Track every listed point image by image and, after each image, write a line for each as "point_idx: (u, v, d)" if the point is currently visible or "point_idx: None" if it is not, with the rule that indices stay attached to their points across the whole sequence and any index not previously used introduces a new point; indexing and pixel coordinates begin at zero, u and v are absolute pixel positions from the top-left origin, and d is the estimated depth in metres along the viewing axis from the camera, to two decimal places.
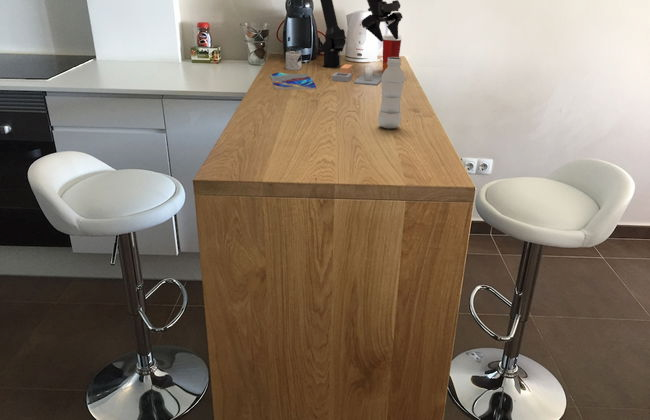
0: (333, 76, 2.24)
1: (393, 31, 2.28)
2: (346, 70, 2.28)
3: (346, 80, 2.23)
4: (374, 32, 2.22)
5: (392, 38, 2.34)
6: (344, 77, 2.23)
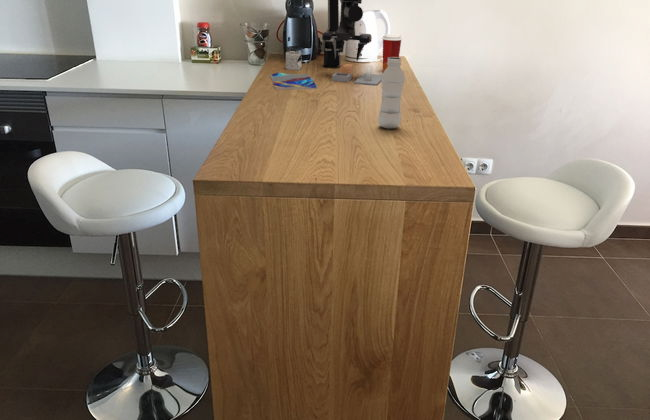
0: (333, 76, 2.24)
1: None
2: (346, 70, 2.28)
3: (346, 80, 2.23)
4: None
5: (392, 38, 2.34)
6: (344, 77, 2.23)
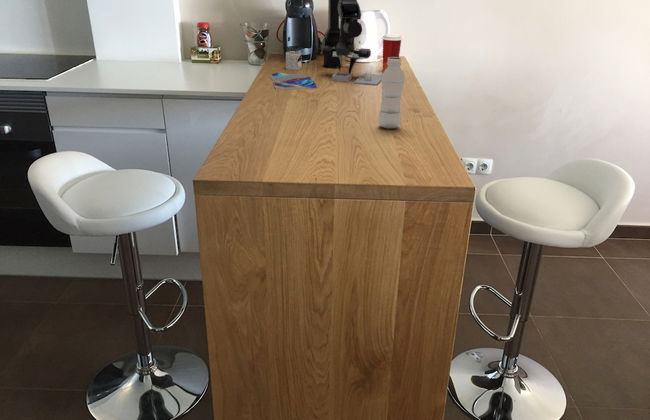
0: (333, 76, 2.24)
1: None
2: (346, 70, 2.28)
3: (346, 80, 2.23)
4: None
5: (392, 38, 2.34)
6: (344, 77, 2.23)
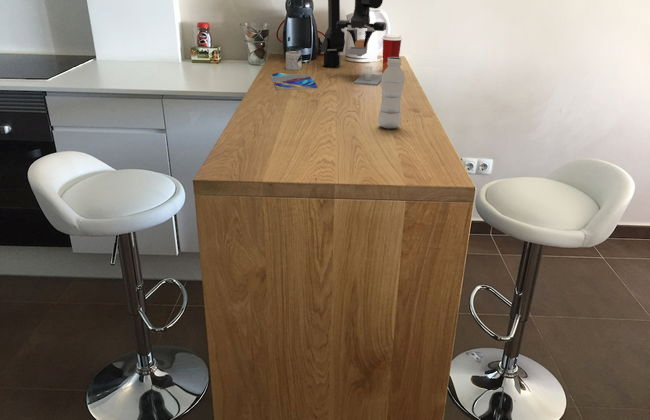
0: (347, 50, 2.19)
1: None
2: (361, 44, 2.23)
3: (361, 53, 2.18)
4: None
5: (392, 38, 2.34)
6: (359, 50, 2.18)
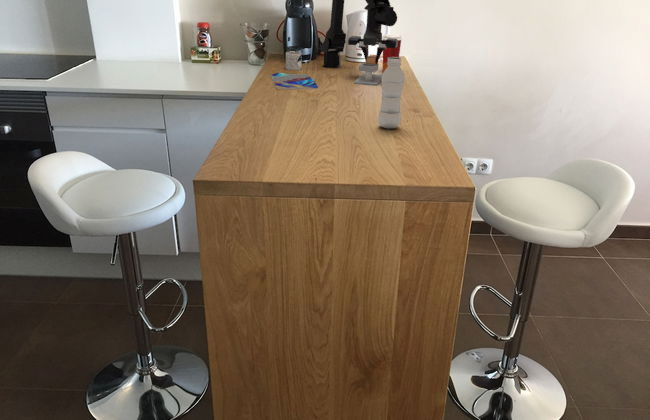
0: (359, 66, 2.19)
1: None
2: (373, 60, 2.23)
3: (373, 70, 2.18)
4: None
5: (392, 38, 2.34)
6: (371, 67, 2.18)
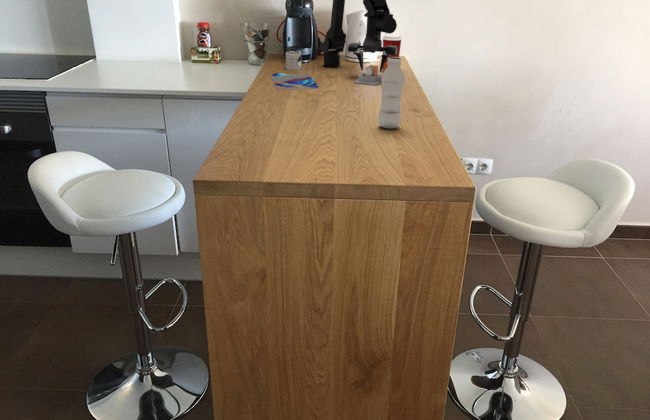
0: (359, 77, 2.21)
1: None
2: (372, 71, 2.25)
3: (373, 81, 2.20)
4: None
5: (392, 38, 2.34)
6: (371, 78, 2.20)
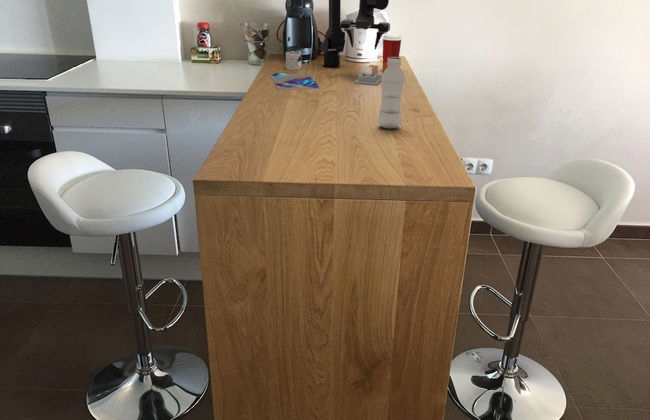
0: (359, 77, 2.21)
1: None
2: (372, 71, 2.25)
3: (373, 81, 2.20)
4: None
5: (392, 38, 2.34)
6: (371, 78, 2.20)
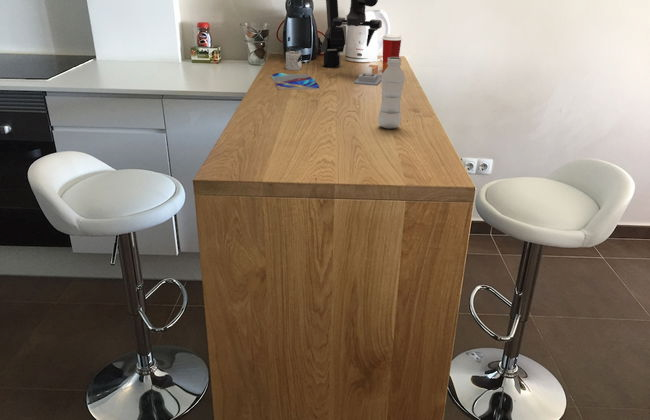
0: (359, 77, 2.21)
1: None
2: (372, 71, 2.25)
3: (373, 81, 2.20)
4: None
5: (392, 38, 2.34)
6: (371, 78, 2.20)
